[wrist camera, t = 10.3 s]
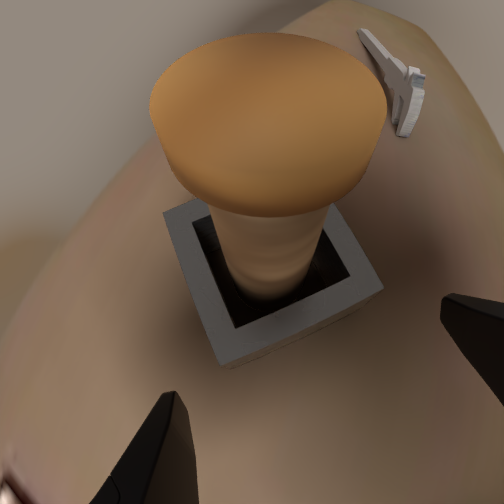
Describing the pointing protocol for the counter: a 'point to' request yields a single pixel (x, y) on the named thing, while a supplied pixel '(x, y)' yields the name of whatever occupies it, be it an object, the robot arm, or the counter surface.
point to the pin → (268, 148)
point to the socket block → (284, 320)
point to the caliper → (398, 84)
